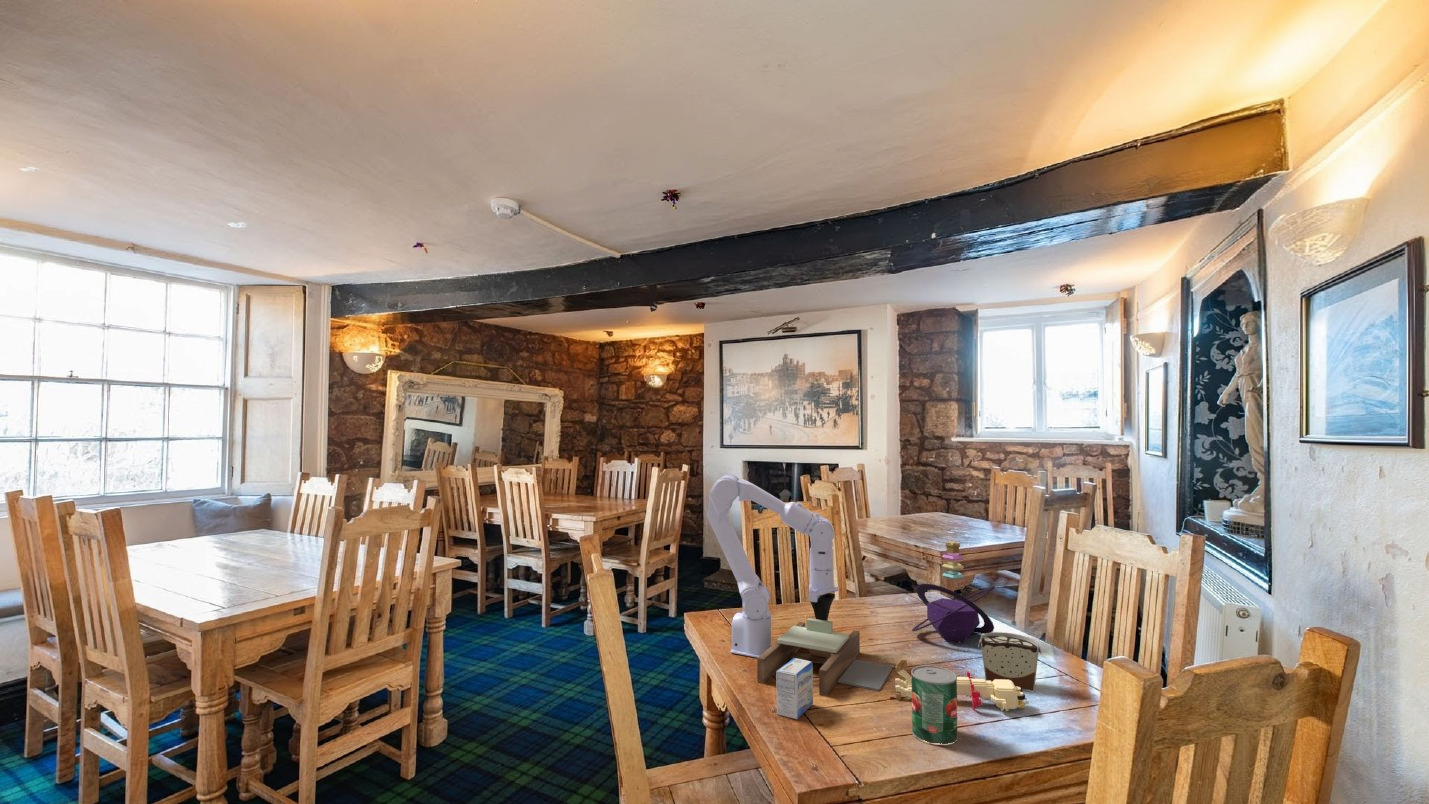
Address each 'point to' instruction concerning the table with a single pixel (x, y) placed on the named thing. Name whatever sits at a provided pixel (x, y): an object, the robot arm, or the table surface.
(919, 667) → the canned tomato
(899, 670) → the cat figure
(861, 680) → the mat
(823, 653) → the block
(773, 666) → the brown wooden frame
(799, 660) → the medicine box
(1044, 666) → the table surface
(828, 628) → the cover
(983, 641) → the food container
